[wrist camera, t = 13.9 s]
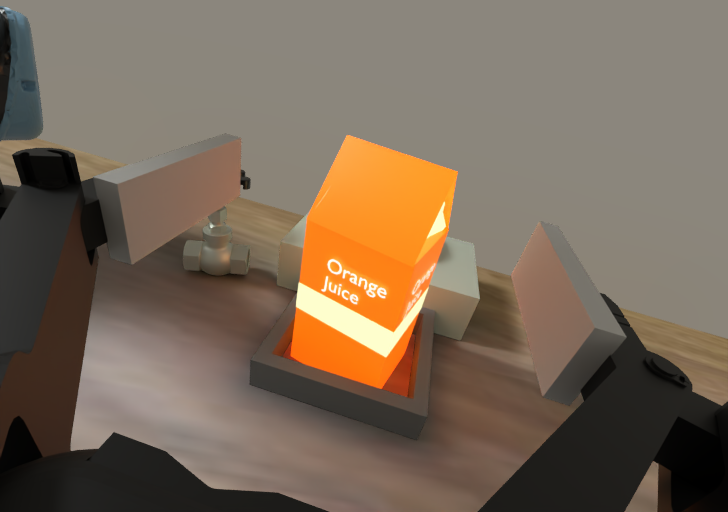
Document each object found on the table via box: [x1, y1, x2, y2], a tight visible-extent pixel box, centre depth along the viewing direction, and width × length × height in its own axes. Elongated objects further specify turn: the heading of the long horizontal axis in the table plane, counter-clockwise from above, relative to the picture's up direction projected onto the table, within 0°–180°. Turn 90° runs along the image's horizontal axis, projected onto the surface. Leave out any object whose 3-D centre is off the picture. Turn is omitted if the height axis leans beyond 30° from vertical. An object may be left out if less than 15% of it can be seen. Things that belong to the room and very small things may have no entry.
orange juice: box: [291, 135, 458, 389], centre depth 29 cm, size 8×9×20 cm
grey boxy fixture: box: [250, 212, 480, 440], centre depth 38 cm, size 22×26×9 cm
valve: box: [183, 170, 250, 275], centre depth 38 cm, size 7×7×12 cm
